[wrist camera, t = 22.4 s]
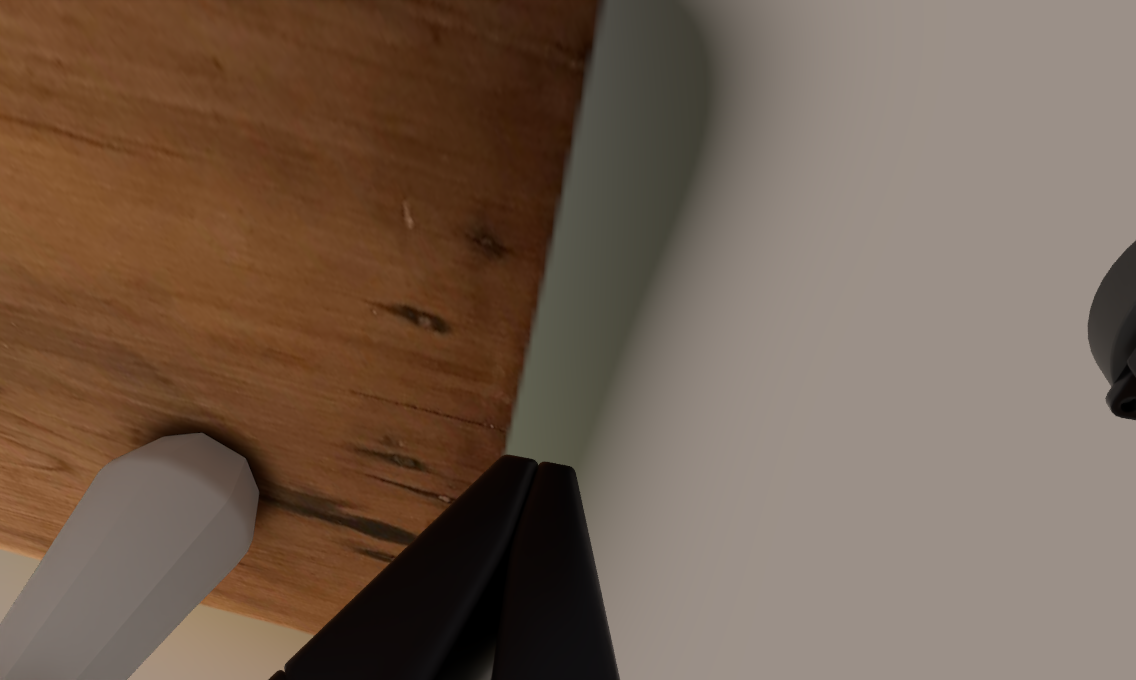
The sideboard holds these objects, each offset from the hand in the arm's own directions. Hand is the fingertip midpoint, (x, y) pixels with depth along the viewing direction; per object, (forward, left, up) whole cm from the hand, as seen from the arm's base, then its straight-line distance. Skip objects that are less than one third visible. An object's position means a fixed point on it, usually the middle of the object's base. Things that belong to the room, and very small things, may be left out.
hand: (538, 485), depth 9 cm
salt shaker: (+15, +16, -12) cm, 25 cm away
